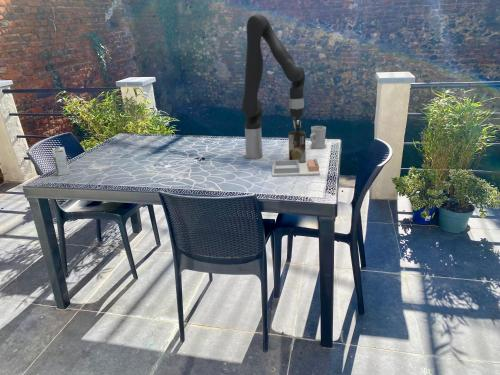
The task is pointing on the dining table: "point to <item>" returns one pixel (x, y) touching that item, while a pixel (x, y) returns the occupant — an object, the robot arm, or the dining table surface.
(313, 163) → the pink rectangular block
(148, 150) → the dining table surface
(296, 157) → the coffee box
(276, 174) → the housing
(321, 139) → the cup
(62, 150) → the syrup box
